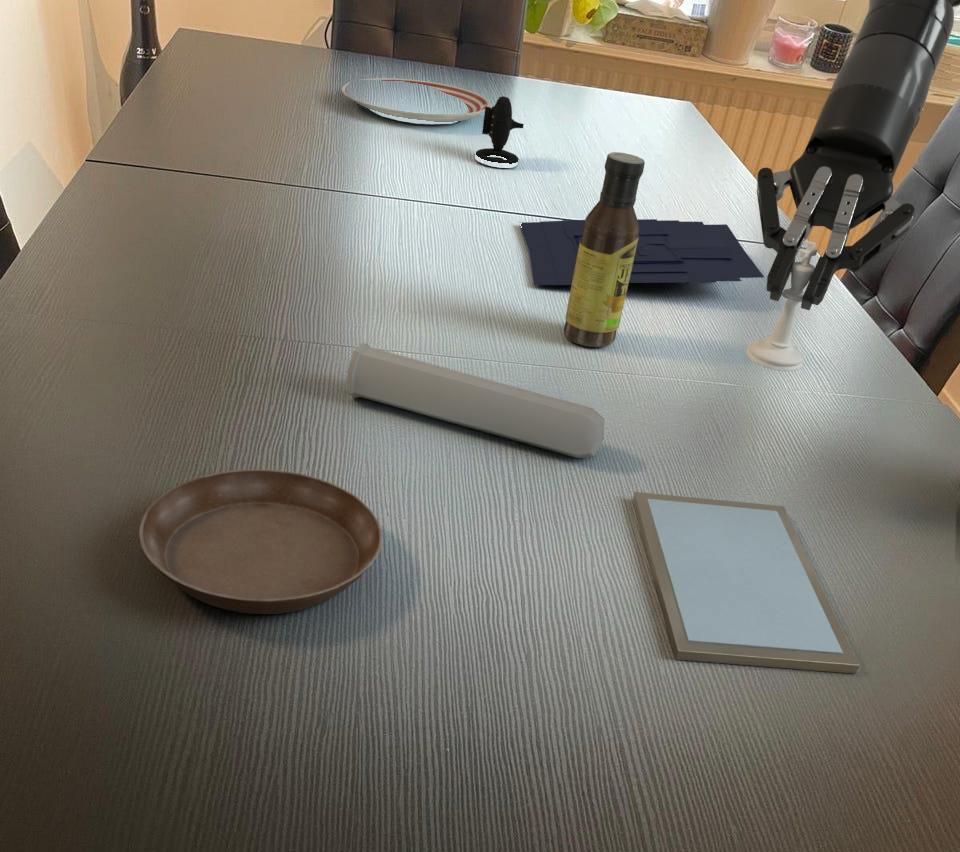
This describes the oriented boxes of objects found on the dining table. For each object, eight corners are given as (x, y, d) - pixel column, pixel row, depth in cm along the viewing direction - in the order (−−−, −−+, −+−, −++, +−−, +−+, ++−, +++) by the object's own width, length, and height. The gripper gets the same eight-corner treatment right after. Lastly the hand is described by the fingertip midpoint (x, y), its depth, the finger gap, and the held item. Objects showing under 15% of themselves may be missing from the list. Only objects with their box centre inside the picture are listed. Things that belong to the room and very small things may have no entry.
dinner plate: (316, 110, 181) (316, 90, 179) (375, 85, 202) (377, 66, 200) (460, 144, 177) (462, 123, 175) (506, 114, 198) (509, 95, 196)
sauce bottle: (612, 355, 116) (653, 170, 104) (558, 344, 117) (593, 159, 104) (617, 334, 121) (657, 155, 109) (566, 323, 122) (599, 144, 109)
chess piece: (734, 353, 89) (769, 236, 82) (768, 342, 91) (804, 228, 85) (780, 376, 86) (820, 257, 80) (813, 364, 89) (854, 248, 82)
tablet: (780, 514, 94) (784, 504, 93) (855, 674, 77) (860, 664, 76) (632, 500, 92) (634, 490, 91) (675, 660, 75) (678, 649, 75)
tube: (614, 407, 97) (371, 341, 101) (607, 413, 92) (352, 343, 96) (599, 462, 99) (361, 394, 103) (591, 470, 94) (342, 399, 98)
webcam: (474, 153, 174) (482, 88, 167) (518, 159, 174) (527, 95, 168) (472, 165, 168) (480, 99, 161) (517, 172, 168) (527, 106, 162)
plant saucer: (226, 476, 86) (225, 444, 85) (416, 539, 83) (419, 507, 81) (91, 584, 73) (86, 549, 71) (310, 664, 70) (311, 630, 68)
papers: (764, 304, 131) (770, 276, 129) (532, 307, 130) (534, 278, 128) (720, 239, 150) (724, 213, 148) (517, 241, 149) (518, 215, 146)
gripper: (791, 63, 83) (709, 253, 82) (965, 101, 79) (880, 302, 78) (786, 123, 90) (710, 299, 89) (945, 161, 86) (867, 345, 85)
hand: (790, 299), depth 83 cm, fingers closed on chess piece
